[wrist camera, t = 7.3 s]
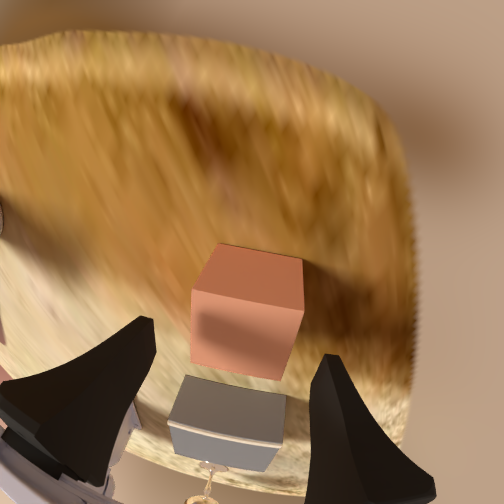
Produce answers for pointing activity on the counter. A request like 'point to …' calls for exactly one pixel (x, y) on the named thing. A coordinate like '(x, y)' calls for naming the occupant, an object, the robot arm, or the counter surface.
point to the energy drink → (1, 220)
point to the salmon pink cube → (246, 311)
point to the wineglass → (204, 501)
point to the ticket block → (227, 424)
